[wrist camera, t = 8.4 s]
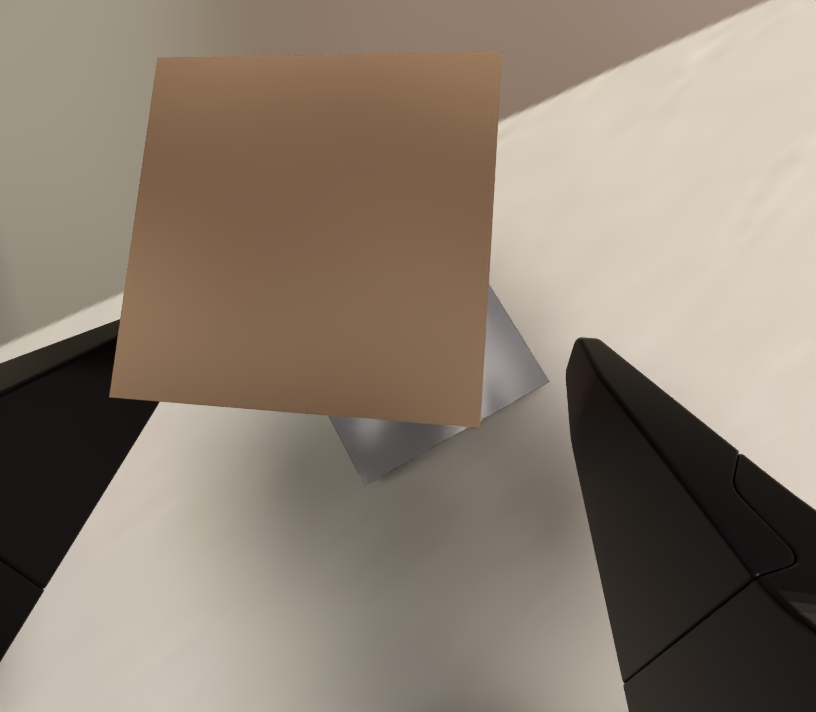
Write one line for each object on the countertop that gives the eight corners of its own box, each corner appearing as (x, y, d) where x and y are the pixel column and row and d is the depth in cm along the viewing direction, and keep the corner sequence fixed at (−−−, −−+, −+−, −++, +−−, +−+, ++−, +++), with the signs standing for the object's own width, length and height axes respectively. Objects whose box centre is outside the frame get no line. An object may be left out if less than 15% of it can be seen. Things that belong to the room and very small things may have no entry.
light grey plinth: (536, 383, 20) (549, 381, 17) (375, 474, 20) (365, 486, 17) (442, 230, 21) (441, 208, 18) (292, 319, 21) (271, 308, 19)
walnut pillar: (458, 405, 17) (479, 428, 5) (344, 397, 18) (109, 397, 6) (466, 291, 18) (502, 51, 5) (354, 286, 18) (157, 57, 6)
